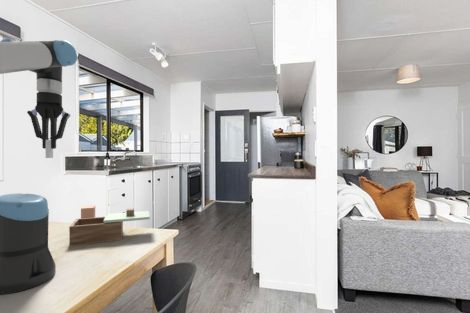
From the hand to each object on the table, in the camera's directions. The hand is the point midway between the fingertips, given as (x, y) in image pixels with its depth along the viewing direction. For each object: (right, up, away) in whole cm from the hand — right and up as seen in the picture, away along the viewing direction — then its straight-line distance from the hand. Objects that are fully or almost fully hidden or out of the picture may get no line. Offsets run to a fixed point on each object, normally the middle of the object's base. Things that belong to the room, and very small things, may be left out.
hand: (49, 157), depth 93 cm
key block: (+1, -33, +24) cm, 41 cm away
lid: (+22, -26, +16) cm, 37 cm away
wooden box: (+12, -33, +12) cm, 37 cm away
